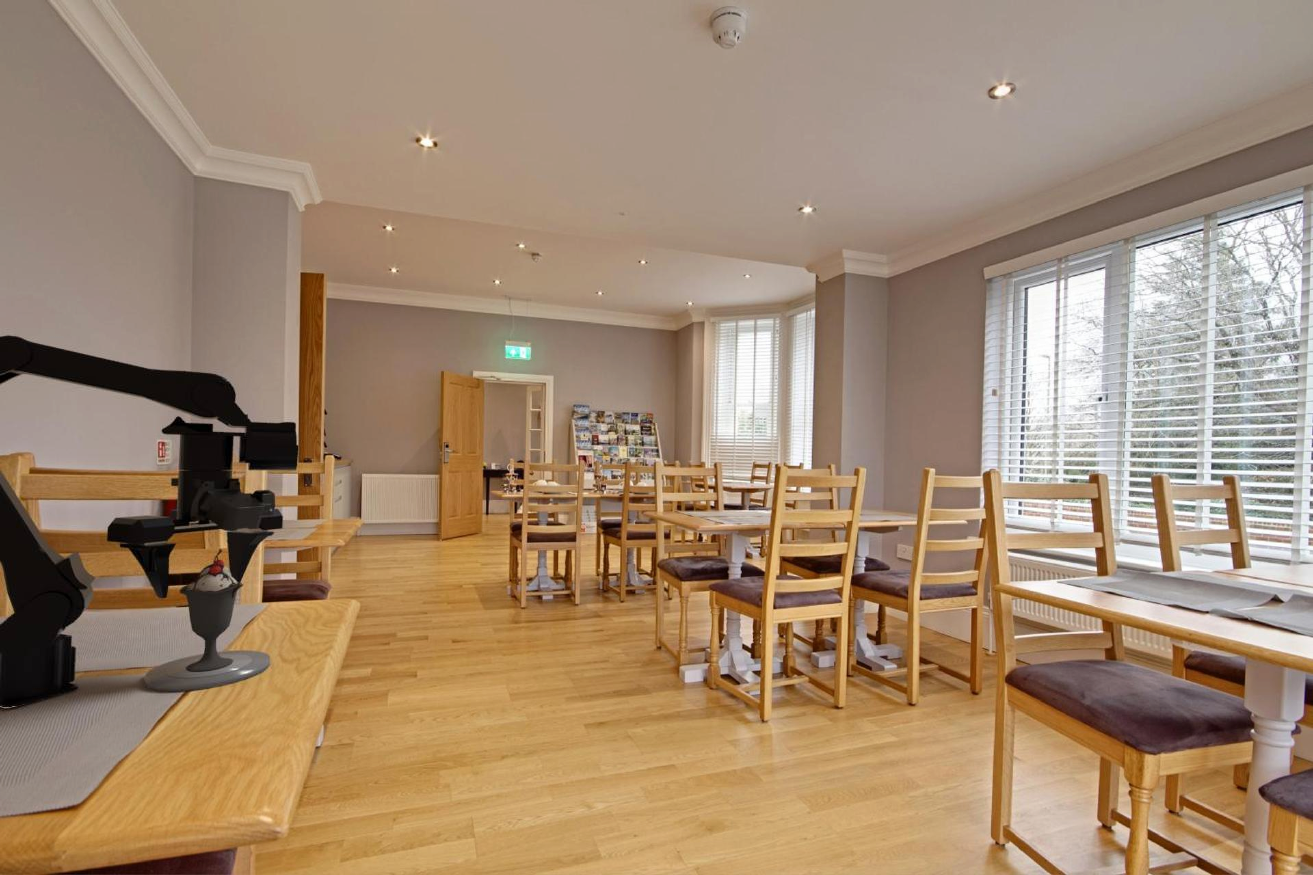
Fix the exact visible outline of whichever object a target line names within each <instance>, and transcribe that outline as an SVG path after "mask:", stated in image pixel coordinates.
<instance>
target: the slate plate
mask: <svg viewBox="0 0 1313 875" xmlns="http://www.w3.org/2000/svg"><path fill="white" fill-rule="evenodd" d="M217 653H218V655H219V656H220V657H222V658H230V659H232V660H233V663H232V664H231V665H229V666H226V667H224V668H220V669H216V670H211V671H203V672H191V671H187V670H186V667H187V666H188V665H190V664H192V663H194V662H197V661H199V660H200V659H201V658H202V656H203V654H204V653H201V654H195V655H191V656H186V657H181V658H178V659H175V660H171V661H168V662H166V663H162V664H160V665H158V666H156V667H153V668H152V669H150V670H149V671H147V672H146V674H145V676H144V686H146V688H149V689H150V690H153V691H159V692H161V691H162V692H188V691H189V692H190V691H199V690H205V689H212V688H217V687H221V686H223V687H224V686H227V685H230V684H234V683H238V682H241V681H244V680H245V681H246V680H248V679H249V678H250V679H251V678H253V677H255V676H258V675H259V674H261V673H263V672H265V671H267V669H268V668H269V667H270V665H271V657H270V655H269V654H268V653H266V652H263V651H257V650H250V649H249V650H248V649H247V650H244V649H243V650H242V649H240V650H225V651H224V650H223V651H217Z"/></svg>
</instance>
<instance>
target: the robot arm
mask: <svg viewBox="0 0 1313 875" xmlns="http://www.w3.org/2000/svg"><path fill="white" fill-rule="evenodd" d="M21 375H29V376H34V377H39V378H42V379H43V378H45V379H49V380H55V381H59V382H62V383H68V384H69V383H70V384H72V385H79V386H84V387H89V388H92V389H98V390H101V391H102V390H103V391H107V392H108V391H109V392H112V393H118V394H121V395H122V394H123V395H126V396H132V397H138V398H141V399H145V400H149V401H151V402H154V403H156V404H160V405H162V406H165V407H168V408H170V409H173V410H176V411H179V412H181V413H184V414H187V415H189V416H192V417H195V418H197V419H198V418H199V419H202V420H210V421H211V420H217V421H219V423H222V424H224V425H225V426H227V427H228V428H232V429H233V428H234V429H244V432H240V431H239V432H237V431H236V432H234V431H233V432H232V431H214V423H203V422H186V421H185V420H184V419H183V418H182V417H181V416H176V417H175V418H174V420H173V421H172V422H171V423H170V424H168V425H167V426H165V427H163V428H162V429H161V433H162V434H163V435H168V436H169V435H170V436H172V435H173V436H179V450H178V451H179V455H178V473H177V474H178V475H177V476H178V477H171V480H170V486H172V487H177V498H176V502H177V503H176V509H170V510H169V516H159V515H158V516H157V515H135V516H121V517H114V519H113V520H112V521H111V522H110V523H109V525H108V526H107V532H106V534H107V535H106V536H107V537H106V542H111V543H119V548H121V549H122V548H124V549H128V550H129V552H131V554H132V556H133V557H134V558H135V559H136V560H137V562H138V564H139V566H140V567H141V569H142V570H143V571H144V573H145V576H146V577H147V580H148V581H149V583H150V585H151V587H152V589H153V591H154V593H155V594H156V597H157V598H159V599H166V598H167V597H168V594H169V587H170V586H169V584H170V555H171V553H172V552H173V550H174V548H175V547H176V544H177V543H176V542H168V541H169V540H170V539H171V538H172V537H173V536H174V535H176V534H186V533H197V532H206V531H217V530H222V531H226V540H227V553H228V569H229V571H230V573H231V577H233V578H234V579H235V580H236V581H237V582H240V583H242V580H243V578H244V575H245V573H246V571H247V568H248V566H249V564H250V562H251V559H252V557H253V555H254V554H255V552H256V550H257V548H258V547H259V545H260V544H261V543H262V542H263V541H264V540H265V539H267V538H268V537H270V536H271V537H272V536H273V535H274V534H275V531H272V530H280V529H281V530H282V529H283V528H284V516H283V514H282V512H281V511H280V510H279V509H278V508H276V493H275V492H273V491H272V490H270V489H257V490H255V491H253V493H252V492H249V493H247V492H242V490H241V482H240V478H235V477H234V478H233V463H234V461H233V460H234V443H235V442H234V441H235V440H234V438H237V437H238V438H239V439H238V440H239V442H238V443H239V445H238V463H239V464H247V470H248V471H297V468H298V462H299V445H298V437H297V423H296V422H294V421H281V422H266V421H265V422H261V421H260V422H259V421H251V420H250V418H249V415H248V414H245V412H244V411H243V410H242V409H241V407H240V406H239V405H238V403H237V402H236V399H237V398H236V396H237V394H236V390H235V387H234V386H233V385H232V383H231V382H230V381H229V380H228V379H227V378H226V377H224V376H222V375H219V374H217V373H211V372H201V371H199V372H198V371H190V370H189V371H188V370H174V369H172V370H171V369H155V368H148V367H143V366H140V365H139V366H138V365H135V364H132V363H131V364H130V363H126V362H121V361H118V360H114V359H109V358H108V359H107V358H104V357H99V356H96V355H91V354H88V353H87V354H86V353H82V352H78V351H74V350H69V349H64V348H60V347H57V346H56V347H55V346H51V345H46V344H42V343H37V342H33V341H30V340H27V339H25V338H23V337H20V336H16V335H2V336H0V386H1V385H3V384H5V383H7V382H8V381H10V380H12V379H14V378H15V379H16V378H17V377H19V376H21ZM0 564H1V567H2V570H3V576H4V581H5V582H4V583H5V588H6V593H7V596H8V599H9V601H10V604H11V607H12V609H13V610H12V611H13V613H12V614H11V615H10V616H8V617H7V618H5V619H4V620H3V621H1V622H0V706H2V707H12V706H18V707H21V706H24V705H23V704H25V705H28V704H31V703H35V702H38V701H43V700H46V699H49V698H52V697H56V696H59V695H64V694H67V693H70V692H73V691H77V690H79V684H76V683H73V682H74V681H75V678H76V660H77V659H76V658H77V657H76V656H77V648H76V646H74V645H72V643H73V642H72V641H73V636H72V635H71V634H70V635H69V634H65V633H62V632H64V631H65V630H66V628H68V627H69V626H71V625H72V624H74V623H75V622H76V621H77V620H78V619H79V618H80V617H82V616H81V615H82V614H83V613H84V612H85V611H86V609H87V608H88V607H89V606H90V603H91V602H92V600H93V597H94V589H93V586H92V584H93V583H94V581H95V580H96V579H97V578H96V576H93V575H92V574H90V573H89V572H88V570H87V569H86V568H85V567H84V563H83V561H82V557H81V556H80V554H79V552H78V551H74V552H72V553H70V554H68V555H67V556H65V557H64V556H63V555H62V554H60V553H59V552H57V551H56V550H55V549H53V547H51V546H50V545H49V544H48V542H47V540H46V539H45V537H44V535H42V533H41V531H40V530H39V528H38V526H37V525H36V524H35V522H34V521H33V519H32V517H31V516H30V514H29V512H28V511H27V509H26V508H25V506H24V504H23V503H22V501H21V500H20V498H19V497H18V495H17V494H16V492H15V490H14V489H13V487H12V486H11V484H10V483H9V481H8V479H7V478H6V477H5V475H4V473H3V472H2V470H1V469H0ZM20 705H21V706H20Z"/></svg>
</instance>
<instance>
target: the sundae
mask: <svg viewBox="0 0 1313 875" xmlns="http://www.w3.org/2000/svg"><path fill="white" fill-rule="evenodd" d="M218 550H219V551H218V552H217V553H216V555H215V557H214V558H213V559H214V560H213V563H212V564H211V563H210V564H209V565H207V566H205V567H204V568H202V570H201V571H200V572H199V574H198V576H197V577H196V579H195V580H193V581H192V582H191V583H190V584H187V585H184V586H183V587H181V588H180V589H179V591H178V592H179V593H180V594H182V595H185V596H186V601H187V606H188V612H189V613H188V614H189V615H188V616H189V621H190V626H191V631H192V632H193V633H195V635H197V636H198V637H200V638H201V639H203V641H204V650H203V653H202V654H203V656H202V658H201V659H200V660H199V661H197V662H194V663H192V664H190V665H188V666H187V667H186V670H187V671H191V672H203V671H211V670H216V669H220V668H224V667H226V666H229V665H231V664H232V663H233V660H232V659H230V658H222V657H220V656H219V655H218V653H217V652H218V651H217V639H218V638H219V636H220V635H222V634H223V633H225V631H227V629H228V628H229V627H230V625H231V621H232V617H233V612H234V608H235V601H236V597H237V592H238V591H239V589H241V588H242V587H244V584H243V583H242V582H237V581H236V580H235V579H234V578H233V577H231V573H230V569H229V567H227V566H226V565H224V564H225V562H224V561H223V560H222V559H219V557H218V556H219V555H220V554H221V553H222V552H223V549H221V548H220V549H218Z"/></svg>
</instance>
